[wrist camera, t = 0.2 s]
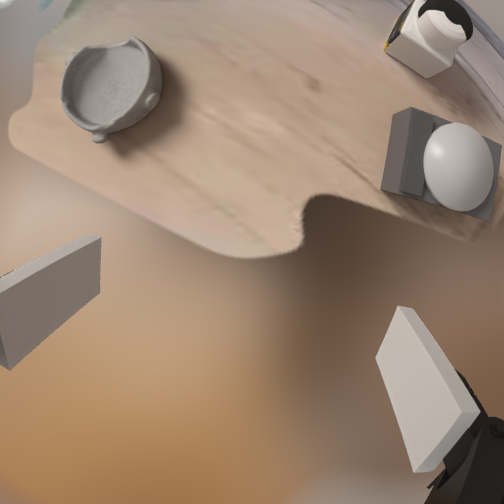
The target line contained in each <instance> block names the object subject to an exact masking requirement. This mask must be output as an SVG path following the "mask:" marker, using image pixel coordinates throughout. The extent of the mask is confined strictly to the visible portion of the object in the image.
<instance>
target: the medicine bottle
mask: <svg viewBox="0 0 504 504" xmlns="http://www.w3.org/2000/svg"><path fill="white" fill-rule="evenodd" d="M472 33H473V26H472V22H471V19H470V17H469V15H468V13H467V12H466V11H465V9H464V8H463V7H462V6H461V5H460V4H459V3H457V2H456V1H455V0H427V1H426V2H425V1H424V0H414V1H413V2H412V3H411V4H410V5H409V6H408V7H407V9H406V10H405V11H404V12H403V13H402V14H401V15H400V17H399V18H398V20H397V22H396V24H395V26H394V28H393V30H392V32H391V35H390V37H389V39H388V41H387V43H386V45H385V47H384V51H385V52H386V53H388V54H389V55H391V56H392V57H394V58H396V59H397V60H399V61H400V62H402V63H403V64H405V65H406V66H408V67H409V68H411V69H412V70H414V71H415V72H417V73H418V74H420V75H421V76H422V77H424V78H425V79H428V78H430V77H432V76H434V75H436V74H438V73H440V72H441V71H443V70H445V69H447V68H449V67H451V65H452V62H453V60H454V57H455V54H456V52H457V49H458V46H459V45H460V44H462V43H464V42H465V41H467V40H469V39H470V38H471V36H472Z"/></svg>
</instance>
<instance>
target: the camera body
mask: <svg viewBox="0 0 504 504" xmlns="http://www.w3.org/2000/svg"><path fill="white" fill-rule="evenodd" d="M501 148H502V145H500V144H498V143H496V142H494V141H492V140H490V139H488V138H486V137H484V136H481V135H480V134H479V133H478V132H477V131H476V130H475V129H473V128H472V127H470V126H468V125H466V124H462V123H452V122H450V121H447V120H445V119H442V118H440V117H437V116H435V115H432V114H429V113H427V112H424V111H421V110H418V109H416V108H413V107H410V108H408V109H405V110H403V111H400V112H398V113H396V114H393V118H392V125H391V132H390V139H389V145H388V151H387V157H386V163H385V168H384V174H383V179H382V184H381V189H380V190H384V191H387V192H391V193H395V194H399V195H403V196H406V197H410V198H413V199H417V200H421V201H424V202H428V203H431V204H434V205H438V206H441V207H444V208H448V209H451V210H454V211H457V212H460V213H463V214H467V215H470V216H473V217H476V218H480V219H483V220H486V221H490V217H491V212H492V207H493V202H494V197H495V191H496V185H497V179H498V172H499V165H500V157H501Z"/></svg>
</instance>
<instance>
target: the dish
mask: <svg viewBox="0 0 504 504" xmlns="http://www.w3.org/2000/svg"><path fill="white" fill-rule="evenodd" d="M65 65H66V68H65V71H64V73H63V76H62V80H61V87H60V98H61V101H62V106H63V109H64V111H65V113H66V114H67V116H68V117H69V118H70V119H71V120H72V121H73V122H74V123H75V124H77V125H78V126H79V127H81V128H83V129H85V130H87V131H90V132H92V133H93V134H94V135H93V139H92V140H93V142H95V143H104V142H105V141H107V140H108V139H109V137H110V133H111V132H116V131H120V130H123V129H126V128H128V127H130V126H133V125H134V124H136V123H137V122H139V121H140V120H142V119H143V118H144V117H145V116H147V115H148V114H149V113H150V111H151V110H152V109H154V108H155V107H156V106H157V104H158V103H159V100H160V93H161V90H162V71H161V67H160V64H159V62H158V60H157V58H156V56H155V54H154V53H153V52H152V50H151V49H150V48H149V47H148V46H147V45H146V44H145V43H144V42H142V41H141V40H139V39H137V38H135V37H131V38H130V39H129V40H127V41H125V42H120V43H113V44H106V45H98V46H86V47H82V48H81V49H80V50H79V51H77V52H75V53H73V54H71V55H70V56H69V57H68V58H67V60H66V62H65Z"/></svg>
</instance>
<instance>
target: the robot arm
mask: <svg viewBox="0 0 504 504" xmlns="http://www.w3.org/2000/svg"><path fill="white" fill-rule="evenodd" d="M100 261H101V237H98V236H94V235H90V234H87V235H85V236H82V237H80V238H78V239H76V240H74V241H72V242H70V243H68V244H65V245H63V246H61V247H59V248H57V249H55V250H53V251H51V252H49V253H47V254H45V255H43V256H41V257H39V258H37V259H35V260H33V261H31V262H29V263H27V264H25V265H24V266H22V267H20V268H18V269H16V270H13V271H11V272H9V273H7V274H5V275H4V276H3V277H0V365H2V366H3V367H5V368H6V369H8V370H11V369H12V368H13V367H14V366H16V365H17V364H18V363H19V362H20V361H21V360H22V359H23V358H24V357H26V356H27V355H28V354H29V353H30V352H31V351H32V350H33V349H35V347H37V346H38V345H39V344H40V343H41V342H42V341H44V340H45V339H46V338H47V337H48V336H49V335H50V334H52V333H53V332H54V331H55V330H56V329H57V328H59V327H60V326H61V325H62V324H63V323H64V322H66V321H67V320H68V319H69V318H70V317H71V316H73V315H74V314H75V313H76V312H77V311H79V310H80V309H81V308H82V307H83V306H85V305H86V304H87V303H88V302H89V301H91V300H92V299H93V298H94V297H95V296H97V295H98V294H99V293H100ZM376 361H377V364H378V366H379V369H380V372H381V374H382V377H383V380H384V383H385V386H386V388H387V391H388V394H389V397H390V400H391V403H392V406H393V409H394V412H395V414H396V418H397V421H398V424H399V427H400V430H401V433H402V436H403V439H404V442H405V446H406V449H407V452H408V455H409V459H410V462H411V465H412V469H413V472H414V473H418V472H430V471H433V470H434V469H435V468H436V467H437V466H438V465H439V463H440V462H441V461H442V460H443V461H444V464H445V467H446V468H445V469H444V470H443V471H442V472H441V473H440V474H439V476H437V477H436V478H435V480H434V481H433V482H432V483H431V484H430V485H429V486H428V487H427V488H429V489H430V488H431V487H432V486H433V485H434V487H433V488H432V490H431V492H430V494H429V496H428V498H427V500H426V501H425V503H424V504H504V421H503V420H502V419H500V418H497V417H488V415H487V413H486V412H485V410H484V408H483V407H482V405H481V403H480V402H479V400H478V399H477V397H476V395H474V392H473V390H472V389H471V388H469V384H468V383H467V381H466V379H465V378H464V377H463V376H462V375H461V374H460V373H459V372H458V371H457V370H456V369H454V368H453V366H452V365H451V363H450V362H449V360H448V359H447V357H446V356H445V354H444V353H443V351H442V350H441V348H440V347H439V345H438V344H437V342H436V341H435V339H434V338H433V337H432V335H431V334H430V332H429V331H428V329H427V328H426V326H425V325H424V324H423V322H422V321H421V320H420V318H419V317H418V315H417V314H416V313H415V311H414V310H413V309H412V308H407V307H402V306H398V307H397V310H396V312H395V314H394V317H393V319H392V322H391V324H390V326H389V329H388V331H387V333H386V336H385V338H384V340H383V342H382V345H381V347H380V349H379V351H378V354H377V356H376Z"/></svg>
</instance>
